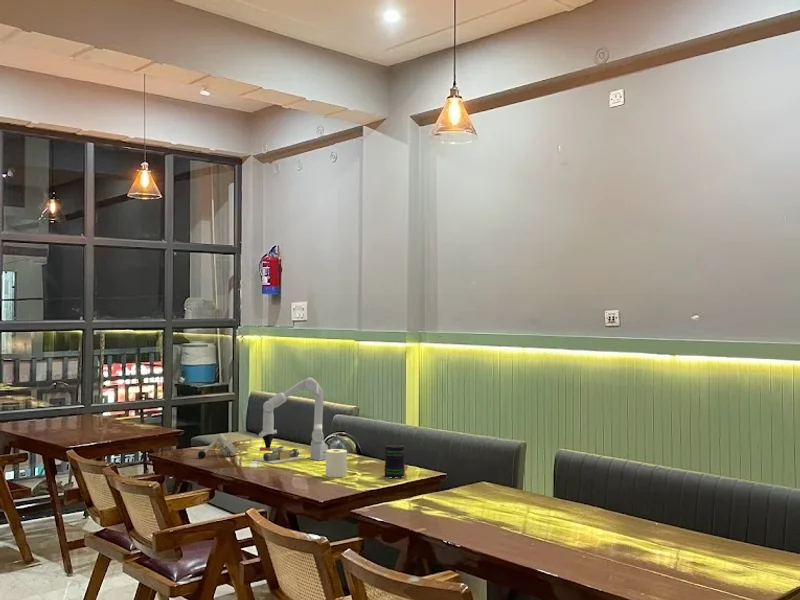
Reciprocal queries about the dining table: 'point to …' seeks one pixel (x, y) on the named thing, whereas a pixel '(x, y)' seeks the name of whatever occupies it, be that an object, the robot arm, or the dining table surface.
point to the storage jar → (394, 460)
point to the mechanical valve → (224, 443)
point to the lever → (273, 448)
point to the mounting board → (278, 460)
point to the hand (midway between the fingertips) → (267, 448)
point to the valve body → (281, 455)
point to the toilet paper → (336, 463)
